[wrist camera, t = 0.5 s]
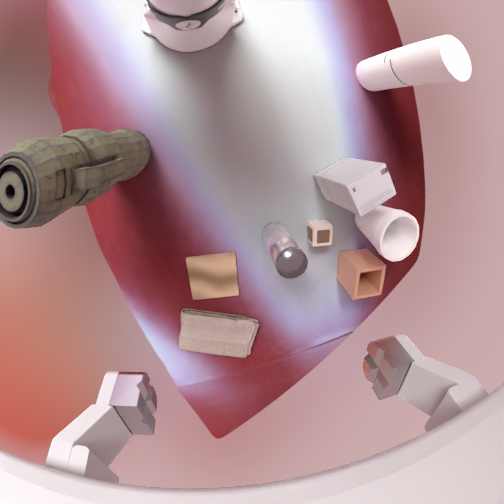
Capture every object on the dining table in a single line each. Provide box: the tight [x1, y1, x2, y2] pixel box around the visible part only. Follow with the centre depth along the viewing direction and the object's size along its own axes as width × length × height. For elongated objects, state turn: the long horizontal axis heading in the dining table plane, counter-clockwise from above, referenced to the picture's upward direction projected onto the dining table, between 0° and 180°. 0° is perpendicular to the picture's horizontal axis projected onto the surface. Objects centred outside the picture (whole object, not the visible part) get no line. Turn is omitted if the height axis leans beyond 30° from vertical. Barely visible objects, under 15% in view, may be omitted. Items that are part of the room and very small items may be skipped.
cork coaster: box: [186, 252, 239, 300], centre depth 58 cm, size 10×10×1 cm
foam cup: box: [355, 205, 419, 262], centre depth 52 cm, size 10×9×13 cm
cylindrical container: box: [356, 35, 471, 91], centre depth 34 cm, size 7×7×25 cm
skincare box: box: [314, 157, 396, 217], centre depth 47 cm, size 8×6×15 cm
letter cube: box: [307, 220, 333, 247], centre depth 56 cm, size 4×4×4 cm
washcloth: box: [178, 308, 259, 358], centre depth 63 cm, size 12×18×3 cm, turn 77°
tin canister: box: [262, 222, 308, 278], centre depth 50 cm, size 5×5×14 cm
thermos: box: [0, 129, 151, 228], centre depth 30 cm, size 9×12×35 cm
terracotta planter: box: [337, 248, 386, 300], centre depth 58 cm, size 7×7×9 cm
